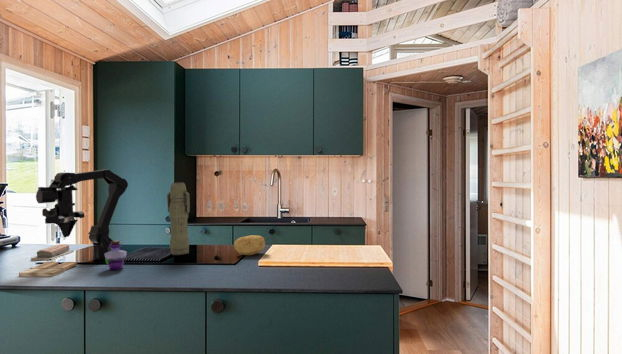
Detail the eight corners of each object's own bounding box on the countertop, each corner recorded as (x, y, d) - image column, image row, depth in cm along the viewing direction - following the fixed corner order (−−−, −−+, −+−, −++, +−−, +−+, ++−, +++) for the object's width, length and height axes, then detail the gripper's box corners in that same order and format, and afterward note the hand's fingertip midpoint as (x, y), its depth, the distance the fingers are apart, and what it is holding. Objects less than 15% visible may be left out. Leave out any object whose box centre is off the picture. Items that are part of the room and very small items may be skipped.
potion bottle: (99, 270, 172) (99, 242, 172) (116, 265, 180) (115, 238, 180) (115, 272, 169) (114, 243, 168) (131, 267, 177) (130, 239, 176)
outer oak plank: (58, 264, 181) (58, 261, 180) (43, 271, 171) (43, 268, 171) (47, 264, 181) (47, 261, 181) (32, 271, 172) (32, 268, 172)
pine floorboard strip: (64, 271, 171) (63, 267, 171) (52, 276, 164) (52, 271, 164) (31, 271, 171) (31, 267, 171) (18, 276, 164) (18, 271, 164)
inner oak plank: (77, 264, 180) (77, 261, 180) (63, 271, 171) (63, 268, 171) (66, 264, 180) (66, 261, 180) (51, 271, 171) (51, 268, 171)
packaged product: (53, 243, 209) (73, 243, 210) (54, 253, 210) (73, 252, 210) (30, 251, 191) (51, 251, 192) (30, 261, 192) (51, 261, 192)
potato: (263, 257, 193) (263, 236, 193) (233, 257, 193) (232, 237, 193) (266, 252, 203) (266, 233, 203) (237, 252, 204) (237, 233, 203)
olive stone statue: (173, 250, 209) (171, 182, 208) (194, 251, 207) (193, 182, 205) (163, 254, 200) (162, 183, 199) (186, 255, 198) (184, 183, 197)
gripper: (60, 199, 188) (62, 233, 189) (31, 203, 170) (33, 241, 170) (84, 199, 188) (85, 233, 189) (58, 203, 169) (59, 241, 170)
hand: (66, 236), depth 179 cm, fingers closed
